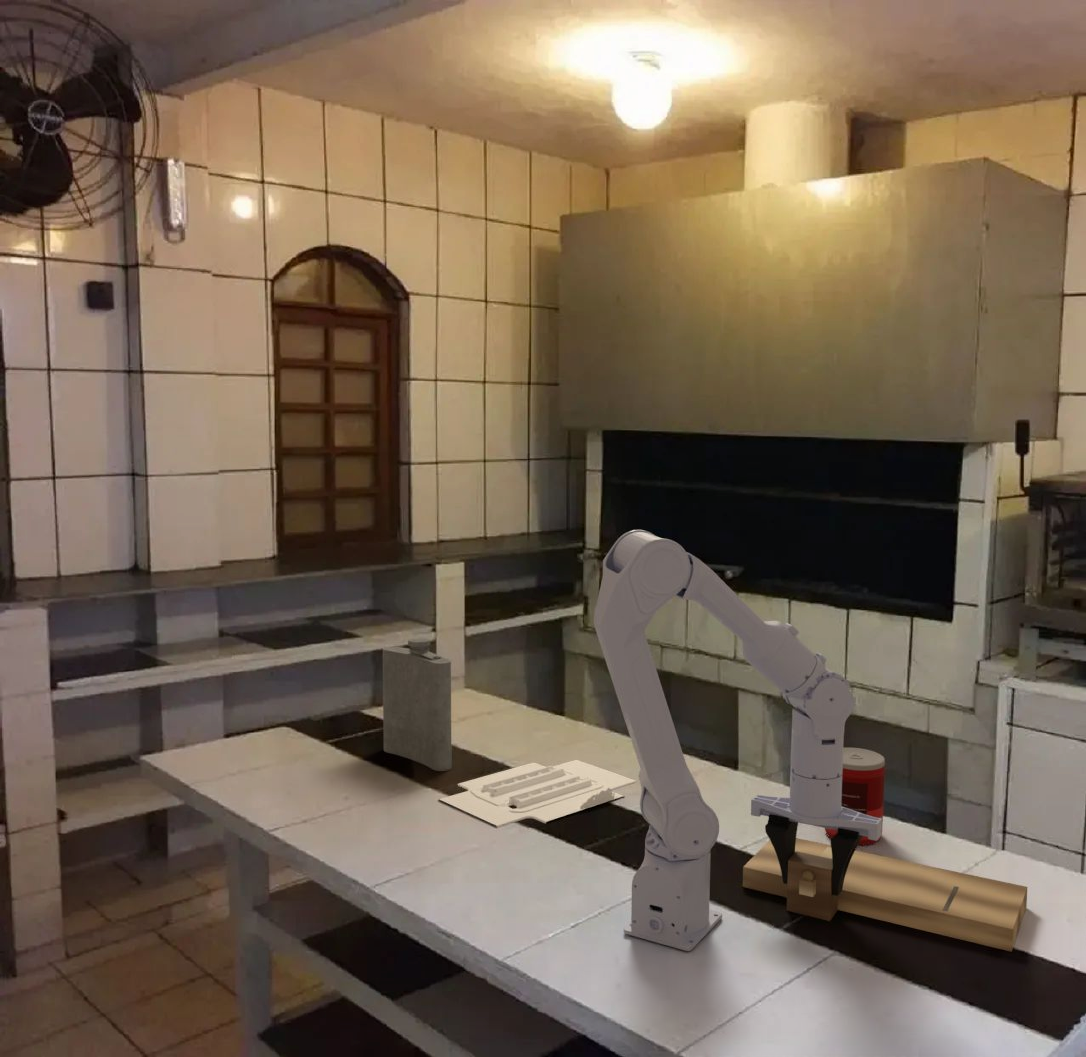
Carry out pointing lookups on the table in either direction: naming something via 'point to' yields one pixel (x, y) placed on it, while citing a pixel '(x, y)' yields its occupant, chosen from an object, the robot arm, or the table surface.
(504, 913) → the table surface
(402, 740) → the hip flask
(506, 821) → the tray
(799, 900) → the brown block with bar
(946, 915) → the oak board
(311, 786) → the table surface
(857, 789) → the canned food
